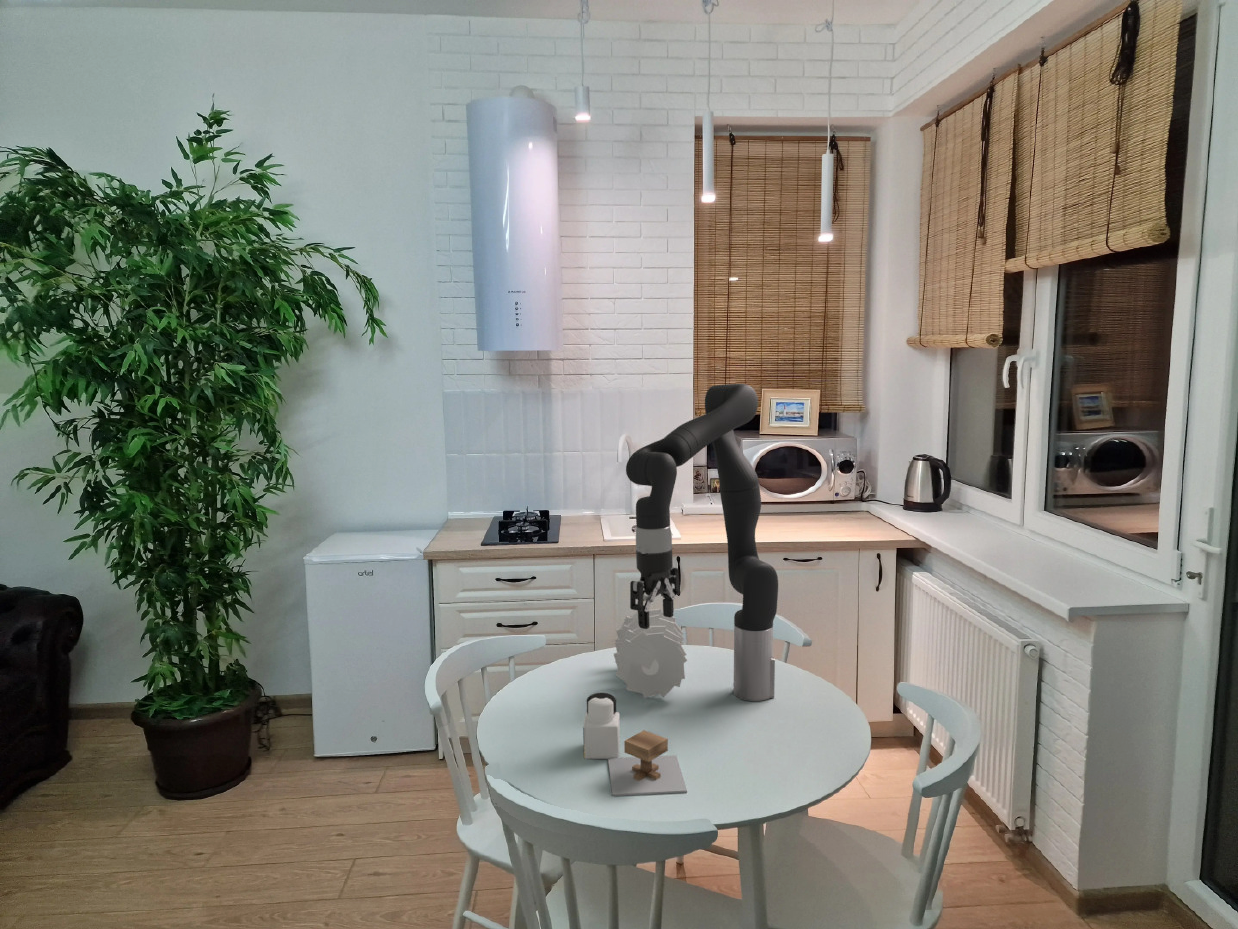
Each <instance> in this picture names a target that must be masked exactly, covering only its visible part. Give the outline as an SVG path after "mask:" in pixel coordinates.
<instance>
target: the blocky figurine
mask: <svg viewBox="0 0 1238 929" xmlns="http://www.w3.org/2000/svg"><path fill="white" fill-rule="evenodd" d="M582 729H583V730H582V731H583V733H582V734H583V738H582V739H583V740H582V741H583V758H584V759H585V760H608V758H620V757H619V756H620V755H619V754H620V742H621V740H620V738H621V736H620V735H621V734H620V732H621V731H620V713H619V712H618V711H617V698H616V697H615V696H614V695H613V694H611V693H608V692H596V693H593V694H590V695H589V696H588V697H587V698H586V712H585V715H584V722H583V728H582Z"/></svg>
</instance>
